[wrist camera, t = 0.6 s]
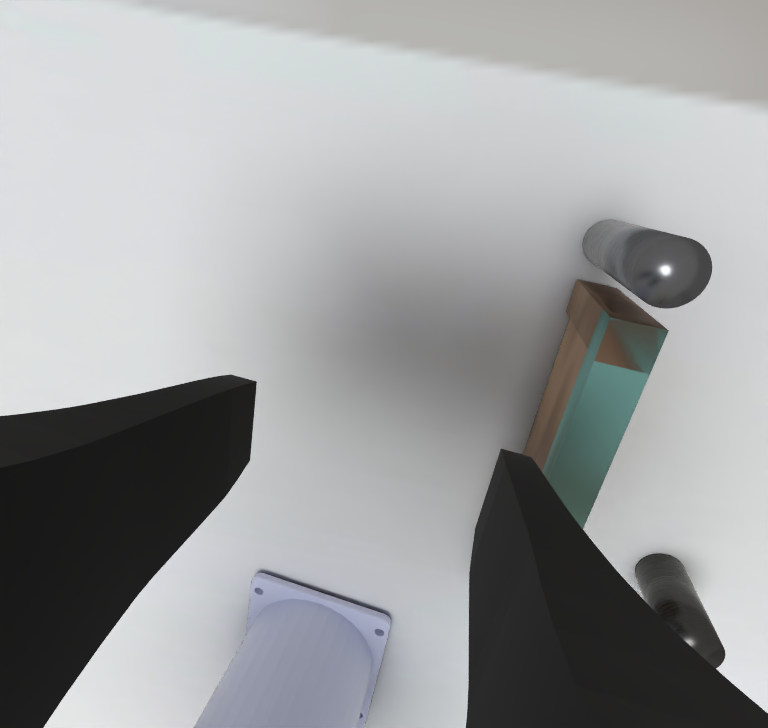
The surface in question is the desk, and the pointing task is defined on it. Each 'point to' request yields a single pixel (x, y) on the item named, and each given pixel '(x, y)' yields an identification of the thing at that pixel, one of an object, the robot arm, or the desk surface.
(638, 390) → the open box
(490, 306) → the desk surface
